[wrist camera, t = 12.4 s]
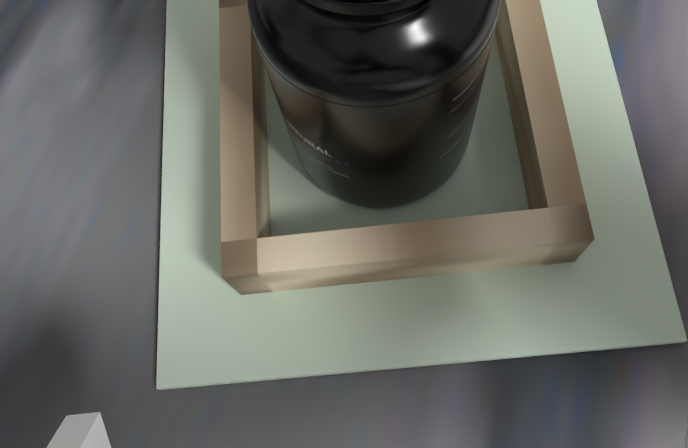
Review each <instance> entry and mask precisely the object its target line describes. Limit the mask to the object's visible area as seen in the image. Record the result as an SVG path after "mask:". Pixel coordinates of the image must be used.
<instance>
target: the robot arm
mask: <svg viewBox="0 0 688 448" xmlns="http://www.w3.org/2000/svg"><path fill="white" fill-rule="evenodd" d="M46 448H111V445H110V442H109V439H108V436H107V433H106V430H105V426H104V423H103V420H102V417H101V414H100V412H95V413H85V414H75V415H66V417H65V419H64V420H63V422H62V423H61V425H60V427H59V428H58V430H57V431H56V433H55V435H54V436H53V438H52V439H51V441H50V443H49V444H48V446H47V447H46ZM685 448H688V420H687V430H686V439H685Z"/></svg>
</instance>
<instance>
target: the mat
mask: <svg viewBox="0 0 688 448" xmlns="http://www.w3.org/2000/svg"><path fill="white" fill-rule="evenodd" d="M540 3H541V7H542V12H543V16H544V20H545V25H546V29H547V34H548V38H549V42H550V47H551V51H552V55H553V60H554V64H555V68H556V73H557V77H558V82H559V86H560V90H561V95H562V99H563V103H564V108H565V112H566V116H567V121H568V125H569V129H570V134H571V138H572V143H573V147H574V151H575V156H576V160H577V164H578V169H579V173H580V177H581V182H582V186H583V190H584V195H585V199H586V204H587V208H588V212H589V217H590V221H591V225H592V230H593V234H594V238H595V239H594V240H593V242H592V243H591V244H590V245H589V246H588V247H587V248H586V250H585V251H584V252H583V253H582V254H581V255H580V256H579V257H578V259H577V260H576V261H575V262H568V263H558V264H548V265H538V266H528V267H518V268H508V269H498V270H487V271H477V272H467V273H457V274H447V275H437V276H427V277H417V278H407V279H397V280H387V281H377V282H367V283H357V284H347V285H337V286H327V287H317V288H306V289H296V290H286V291H276V292H266V293H256V294H246V295H240V294H239V293H238V292H237V291H236V290H235V289H234V288H233V287H231V286H230V285H229V284H228V283H227V282H226V281H225V280H224V279H223V278H222V277H221V179H220V64H219V0H167V11H166V47H165V84H164V121H163V157H162V194H161V231H160V267H159V304H158V341H157V377H156V389H158V390H166V389H178V388H189V387H200V386H211V385H222V384H233V383H244V382H255V381H266V380H277V379H288V378H299V377H310V376H321V375H332V374H343V373H354V372H365V371H376V370H388V369H399V368H410V367H421V366H432V365H443V364H454V363H465V362H476V361H487V360H498V359H509V358H520V357H531V356H542V355H553V354H564V353H575V352H587V351H598V350H609V349H620V348H631V347H642V346H653V345H664V344H675V343H683V342H686V341H687V337H686V333H685V330H684V326H683V322H682V318H681V315H680V311H679V307H678V303H677V300H676V296H675V292H674V289H673V285H672V281H671V277H670V274H669V270H668V266H667V262H666V259H665V255H664V251H663V248H662V244H661V240H660V236H659V233H658V229H657V225H656V221H655V218H654V214H653V210H652V207H651V203H650V199H649V195H648V192H647V188H646V184H645V180H644V177H643V173H642V169H641V166H640V162H639V158H638V154H637V151H636V147H635V143H634V139H633V136H632V132H631V128H630V124H629V121H628V117H627V113H626V110H625V106H624V102H623V98H622V95H621V91H620V87H619V83H618V80H617V76H616V72H615V69H614V65H613V61H612V57H611V54H610V50H609V46H608V42H607V39H606V35H605V31H604V28H603V24H602V20H601V16H600V13H599V9H598V5H597V1H596V0H540ZM265 89H266V115H267V141H268V167H269V193H270V219H271V237H274V236H284V235H293V234H303V233H312V232H322V231H331V230H341V229H350V228H360V227H369V226H379V225H388V224H398V223H407V222H417V221H426V220H436V219H445V218H455V217H464V216H474V215H483V214H493V213H502V212H512V211H522V210H529V206H528V201H527V196H526V191H525V186H524V181H523V176H522V170H521V165H520V160H519V155H518V150H517V145H516V139H515V134H514V129H513V124H512V119H511V114H510V109H509V103H508V98H507V93H506V88H505V83H504V78H503V72H502V67H501V62H500V57H499V52H498V47H497V42H496V36H495V34H494V38H493V42H492V46H491V51H490V55H489V59H488V64H487V68H486V72H485V76H484V81H483V85H482V89H481V93H480V98H479V102H478V106H477V110H476V115H475V119H474V123H473V127H472V131H471V135H470V138H469V142H468V146H467V149H466V151H465V154H464V156H463V158H462V160H461V162H460V164H459V166H458V167H457V169H456V170H455V172H454V173H453V174H452V175H451V176H450V178H449V179H448V180H447V181H446V182H445V183H444V184H443V185H441V186H440V187H439V188H438V189H436V190H435V191H433V192H432V193H430V194H429V195H427V196H425V197H423V198H422V199H419V200H417V201H415V202H412V203H409V204H406V205H402V206H397V207H390V208H368V207H361V206H357V205H353V204H350V203H347V202H344V201H342V200H340V199H338V198H336V197H334V196H332V195H330V194H329V193H327V192H326V191H324V190H323V189H322V188H320V187H319V186H318V185H317V184H316V183H315V182H314V181H313V180H312V179H311V178H310V176H309V175H308V174H307V172H306V171H305V170H304V168H303V166H302V164H301V163H300V161H299V159H298V156H297V154H296V152H295V149H294V147H293V144H292V142H291V139H290V136H289V133H288V131H287V128H286V125H285V122H284V119H283V117H282V114H281V111H280V108H279V105H278V103H277V100H276V97H275V94H274V91H273V89H272V86H271V83H270V80H269V77H268V75H267V72H266V69H265Z"/></svg>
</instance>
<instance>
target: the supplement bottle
mask: <svg viewBox="0 0 688 448" xmlns="http://www.w3.org/2000/svg"><path fill="white" fill-rule="evenodd" d="M500 2H501V0H247V9H248V15H249V20H250V24H251V27H252V31H253V34H254V38H255V41H256V44H257V46H258V49H259V52H260V55H261V58H262V60H263V63H264V66H265V69H266V72H267V75H268V77H269V80H270V83H271V86H272V89H273V91H274V94H275V97H276V100H277V103H278V105H279V108H280V111H281V114H282V117H283V119H284V122H285V125H286V128H287V131H288V133H289V136H290V139H291V142H292V144H293V147H294V149H295V152H296V154H297V156H298V159H299V161H300V163H301V164H302V166H303V168H304V170H305V171H306V172H307V174H308V175H309V176H310V178H311V179H312V180H313V181H314V182H315V183H316V184H317V185H318V186H319V187H320V188H322V189H323V190H324V191H326V192H327V193H329V194H330V195H332V196H334V197H336V198H338V199H340V200H342V201H344V202H347V203H350V204H353V205H357V206H361V207H368V208H390V207H397V206H402V205H406V204H409V203H412V202H415V201H417V200H419V199H422V198H423V197H425V196H427V195H429V194H430V193H432V192H433V191H435V190H436V189H438V188H439V187H440V186H441V185H443V184H444V183H445V182H446V181H447V180H448V179H449V178H450V176H451V175H452V174H453V173H454V172H455V170H456V169H457V167H458V166H459V164H460V162H461V160H462V158H463V156H464V154H465V151H466V149H467V146H468V142H469V138H470V135H471V131H472V127H473V123H474V119H475V115H476V110H477V106H478V102H479V98H480V93H481V89H482V85H483V81H484V76H485V72H486V68H487V64H488V59H489V55H490V51H491V46H492V42H493V38H494V34H495V29H496V25H497V21H498V16H499V9H500Z"/></svg>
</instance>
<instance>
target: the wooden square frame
mask: <svg viewBox="0 0 688 448" xmlns="http://www.w3.org/2000/svg"><path fill="white" fill-rule="evenodd" d="M495 36H496V42H497V47H498V52H499V57H500V62H501V67H502V72H503V78H504V83H505V88H506V93H507V98H508V103H509V109H510V114H511V119H512V124H513V129H514V134H515V139H516V145H517V150H518V155H519V160H520V165H521V170H522V176H523V181H524V186H525V191H526V196H527V201H528V206H529V210H522V211H512V212H502V213H493V214H483V215H474V216H464V217H455V218H445V219H436V220H426V221H417V222H407V223H398V224H388V225H379V226H369V227H360V228H350V229H341V230H331V231H322V232H312V233H303V234H293V235H284V236H274V237H271V219H270V193H269V167H268V141H267V115H266V89H265V66H264V63H263V60H262V58H261V55H260V52H259V49H258V46H257V44H256V41H255V38H254V34H253V31H252V27H251V24H250V20H249V15H248V9H247V0H219V64H220V179H221V277H222V278H223V279H224V280H225V281H226V282H227V283H228V284H229V285H230V286H231V287H233V288H234V289H235V290H236V291H237V292H238V293H239V294H240V295H246V294H256V293H266V292H276V291H286V290H296V289H306V288H317V287H327V286H337V285H347V284H357V283H367V282H377V281H387V280H397V279H407V278H417V277H427V276H437V275H447V274H457V273H467V272H477V271H487V270H498V269H508V268H518V267H528V266H538V265H548V264H558V263H568V262H575V261H576V260H577V259H578V257H579V256H580V255H581V254H582V253H583V252H584V251H585V250H586V248H587V247H588V246H589V245H590V244H591V243H592V242H593V240H594V239H595V238H594V234H593V230H592V225H591V221H590V217H589V212H588V208H587V204H586V199H585V195H584V190H583V186H582V182H581V177H580V173H579V169H578V164H577V160H576V156H575V151H574V147H573V143H572V138H571V134H570V129H569V125H568V121H567V116H566V112H565V108H564V103H563V99H562V95H561V90H560V86H559V82H558V77H557V73H556V68H555V64H554V60H553V55H552V51H551V47H550V42H549V38H548V34H547V29H546V25H545V20H544V16H543V12H542V7H541V3H540V0H501V2H500V9H499V16H498V21H497V25H496V29H495Z"/></svg>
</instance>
